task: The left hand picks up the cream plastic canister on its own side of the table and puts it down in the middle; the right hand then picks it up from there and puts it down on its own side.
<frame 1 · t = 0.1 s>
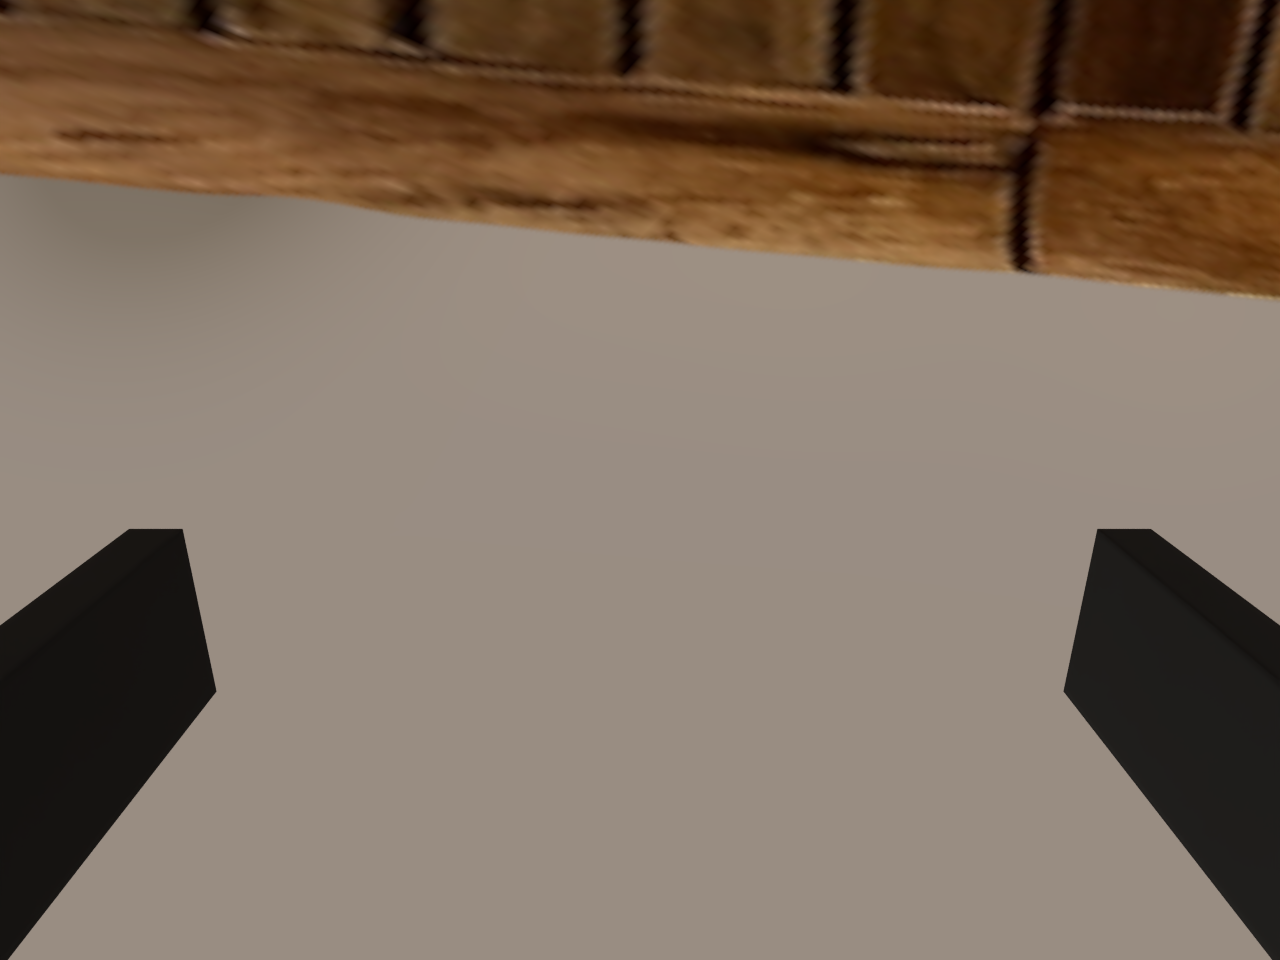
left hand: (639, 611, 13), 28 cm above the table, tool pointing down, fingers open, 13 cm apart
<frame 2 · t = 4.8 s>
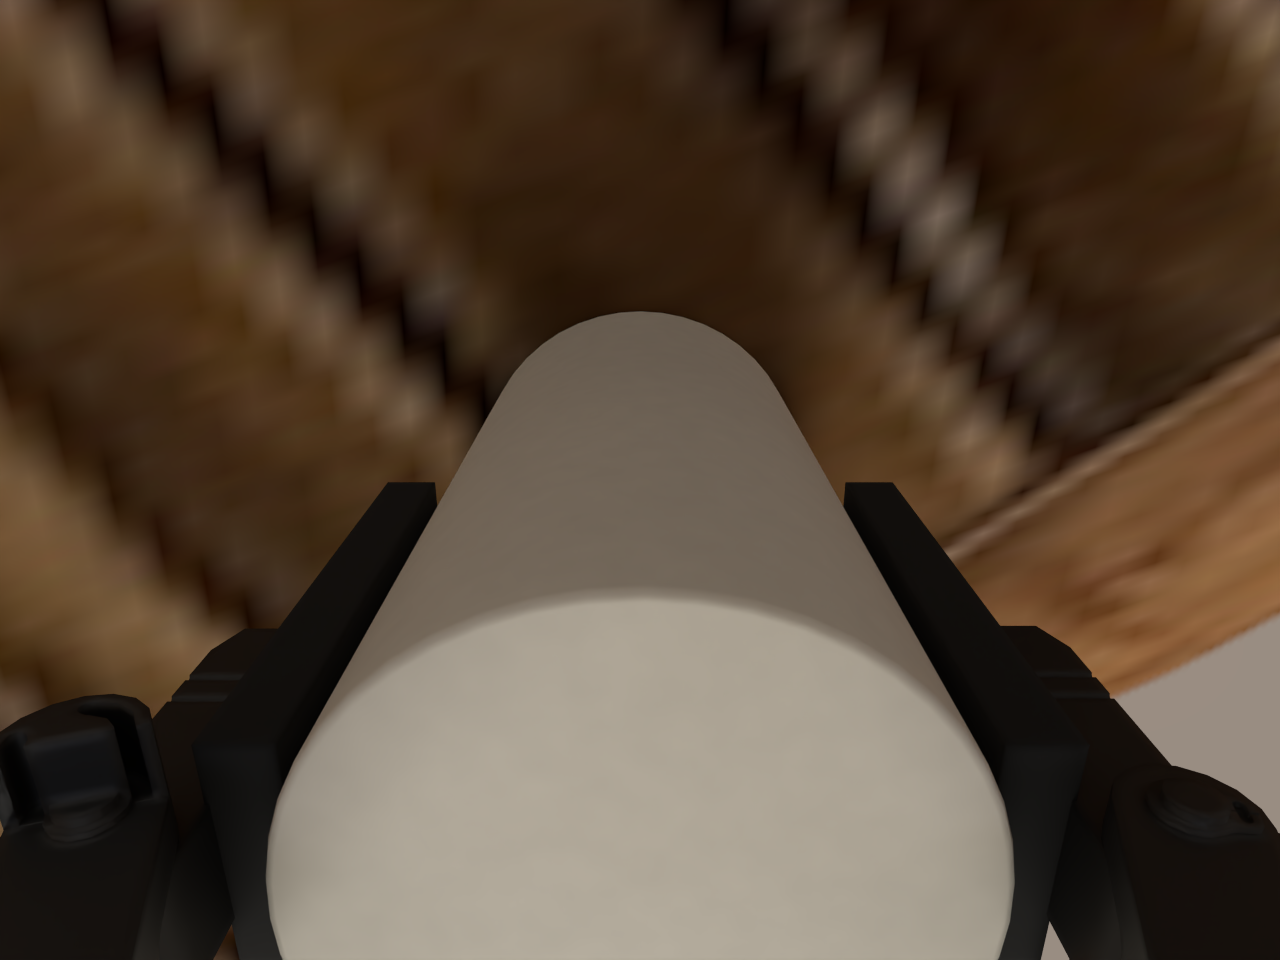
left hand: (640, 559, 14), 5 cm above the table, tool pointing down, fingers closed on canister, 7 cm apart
canister: (640, 464, 19), on the table, touching left hand
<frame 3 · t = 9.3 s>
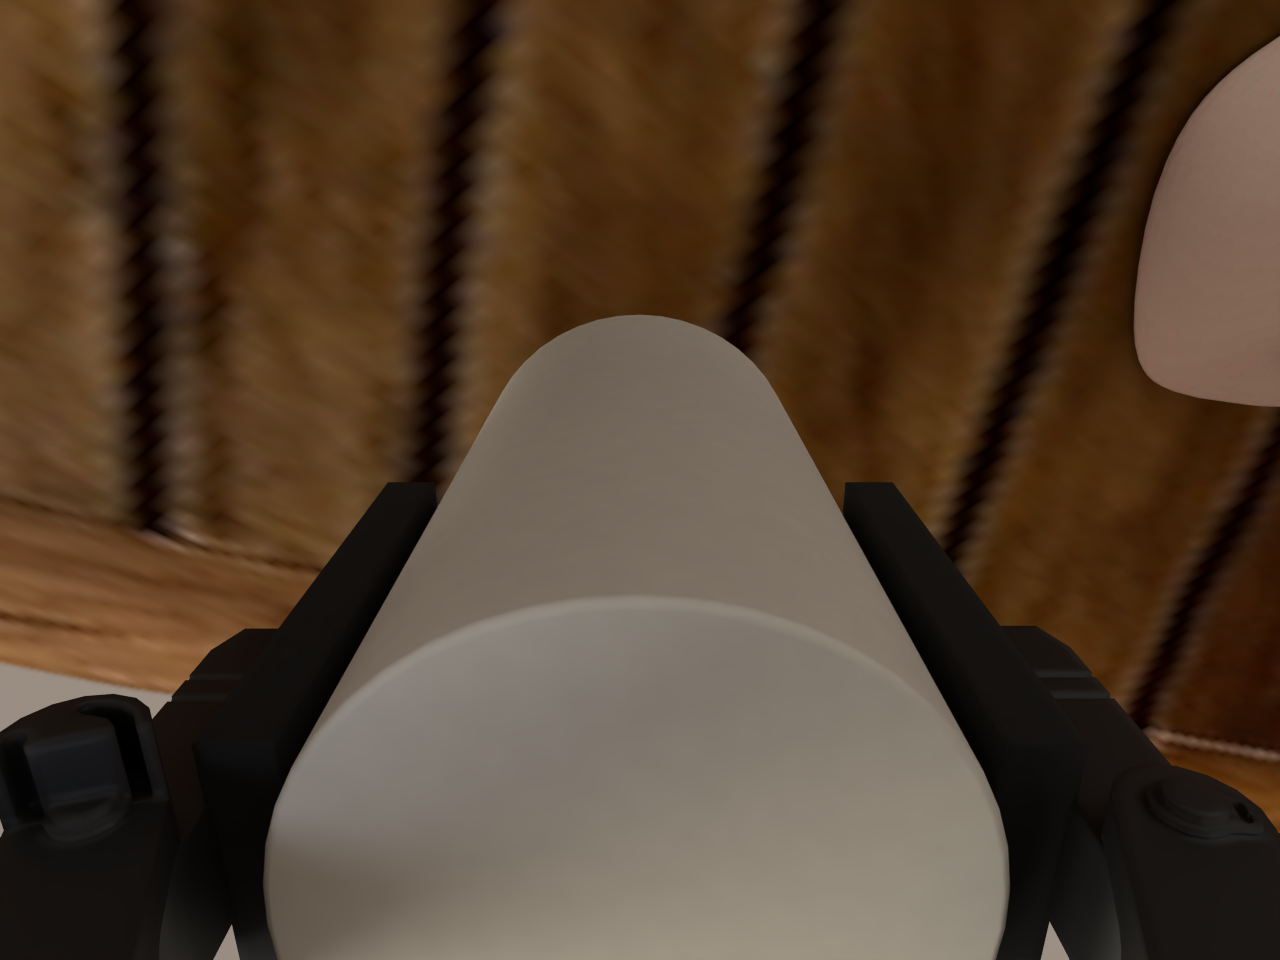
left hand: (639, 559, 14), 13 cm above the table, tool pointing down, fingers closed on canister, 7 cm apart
canister: (638, 467, 19), point 8 cm above the table, touching left hand
when the left hand's fingers open (6 cm above the table, at t = 13.8 s): canister drops 1 cm, on the table.
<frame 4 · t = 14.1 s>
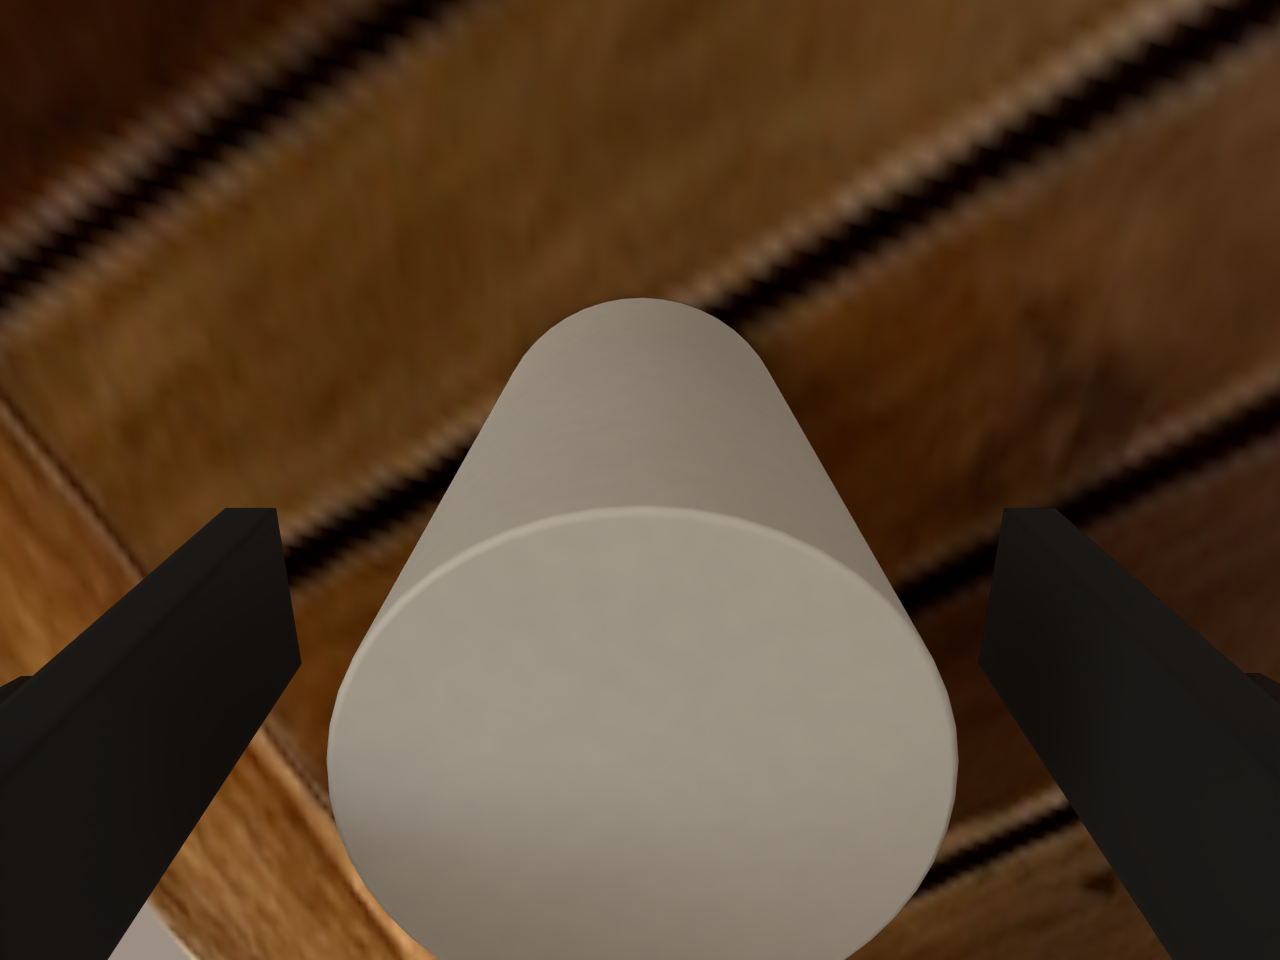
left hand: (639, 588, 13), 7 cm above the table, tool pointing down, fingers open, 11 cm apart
canister: (641, 440, 20), on the table
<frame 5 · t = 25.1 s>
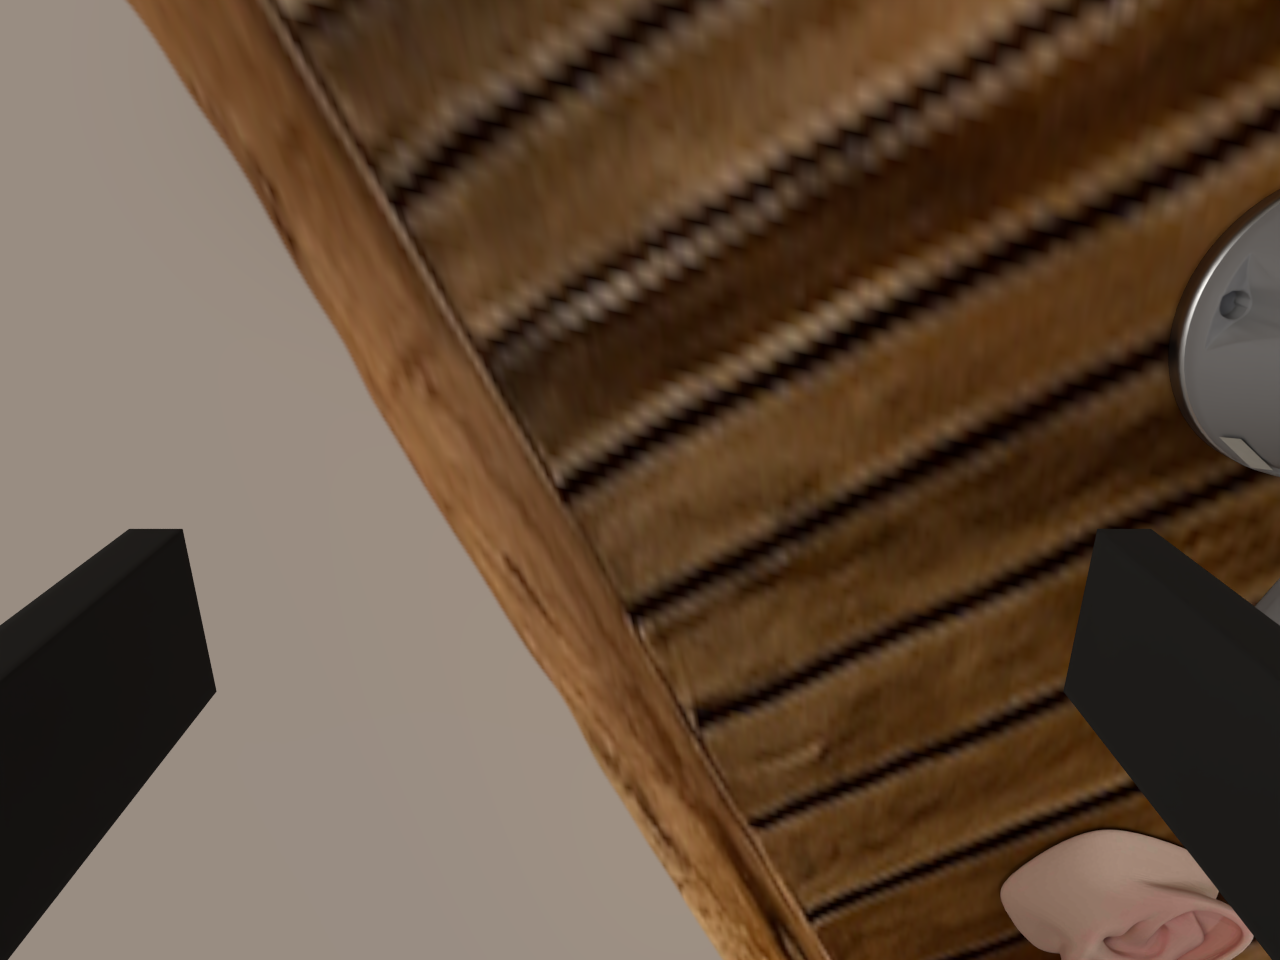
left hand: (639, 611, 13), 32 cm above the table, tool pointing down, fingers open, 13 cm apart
anatomical model: (1104, 893, 57), on the table
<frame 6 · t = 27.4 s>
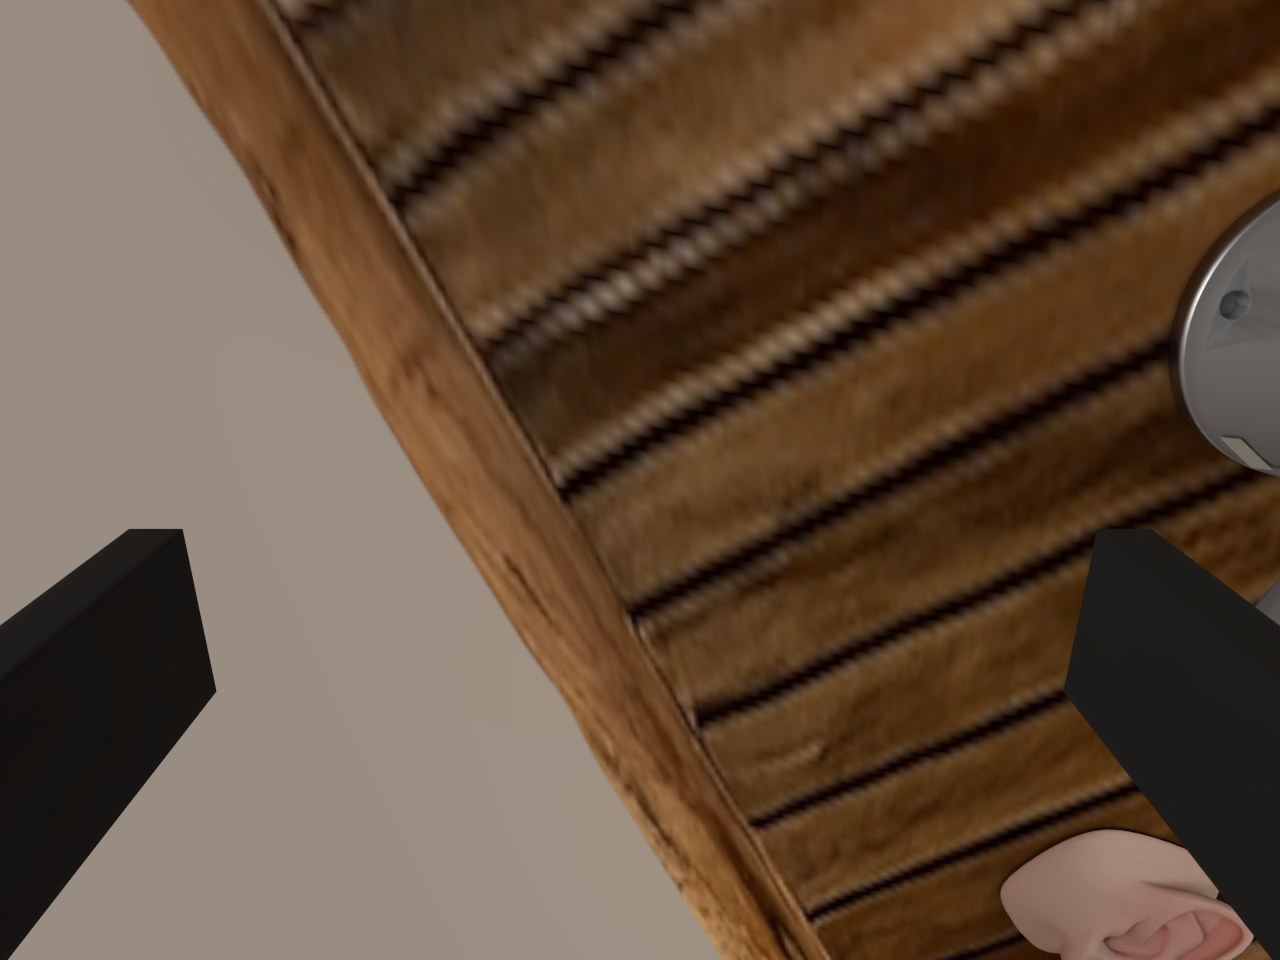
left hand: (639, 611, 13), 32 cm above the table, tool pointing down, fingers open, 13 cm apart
anatomical model: (1104, 893, 57), on the table
when the right hand's fingers open (6 cm above the table, at t = 29.8 s): canister drops 1 cm, on the table.
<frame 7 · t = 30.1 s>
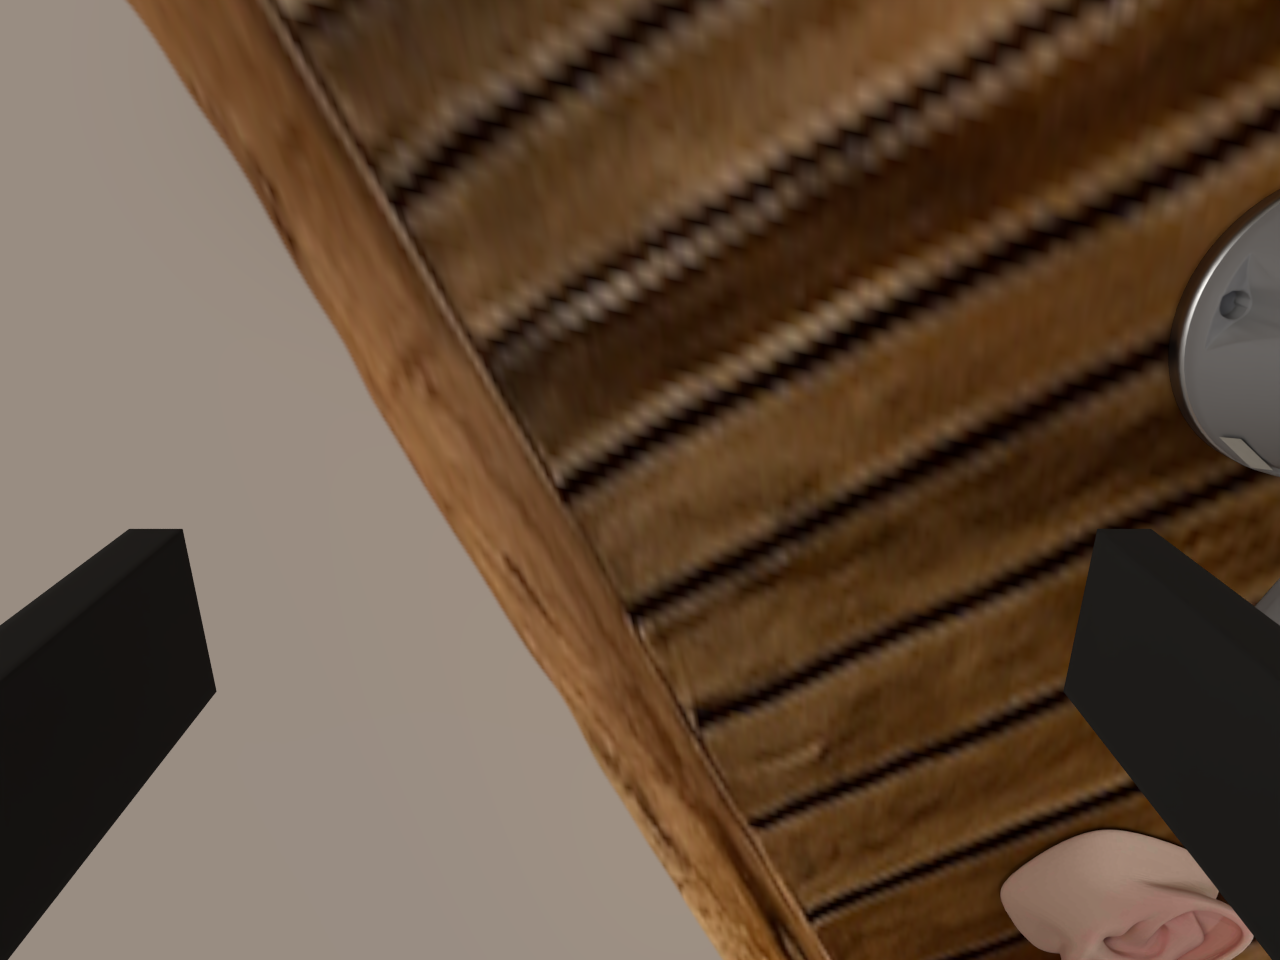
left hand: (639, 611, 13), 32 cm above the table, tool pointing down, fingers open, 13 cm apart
anatomical model: (1104, 893, 57), on the table
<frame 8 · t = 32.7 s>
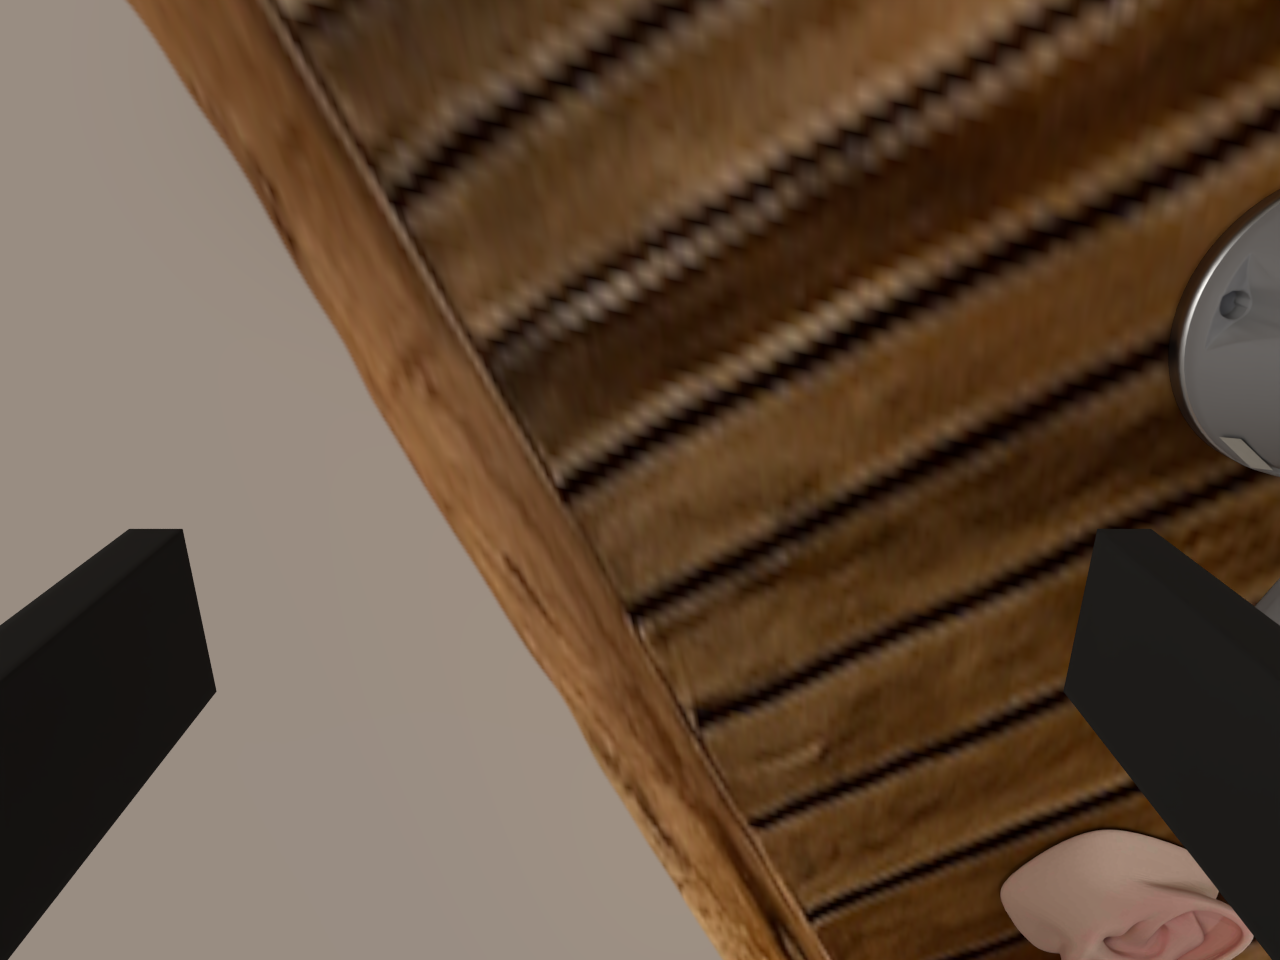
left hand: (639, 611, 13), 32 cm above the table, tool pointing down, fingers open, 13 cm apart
anatomical model: (1104, 893, 57), on the table
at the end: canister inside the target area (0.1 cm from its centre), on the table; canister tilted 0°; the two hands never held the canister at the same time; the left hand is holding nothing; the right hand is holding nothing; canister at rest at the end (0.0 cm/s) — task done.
